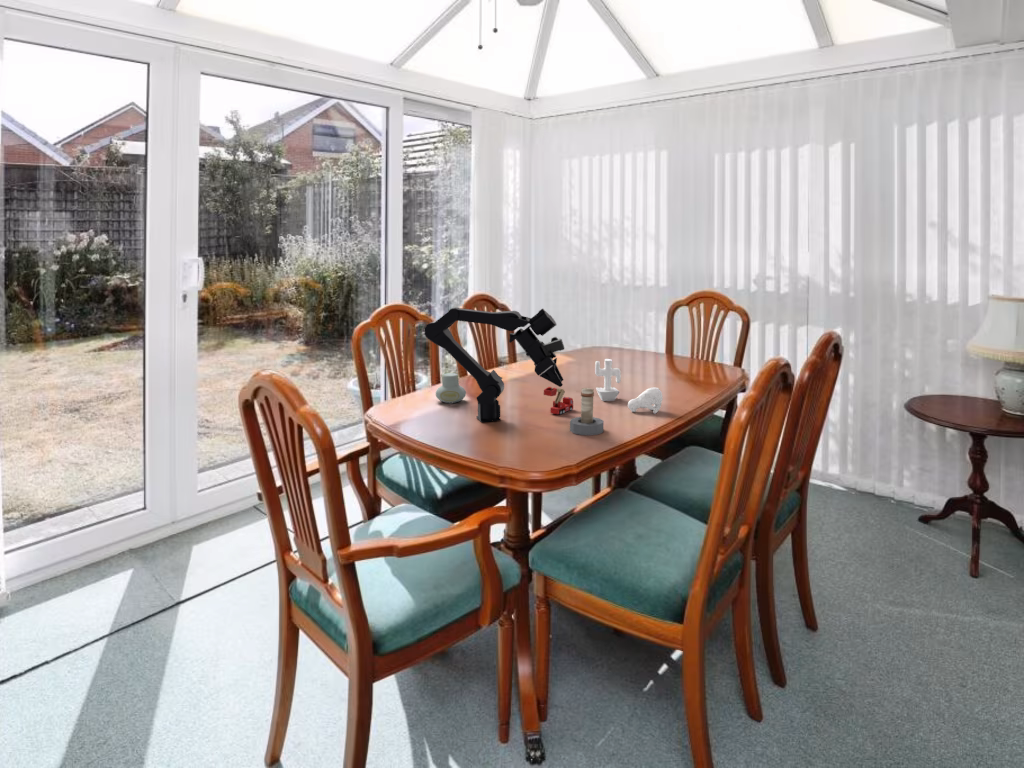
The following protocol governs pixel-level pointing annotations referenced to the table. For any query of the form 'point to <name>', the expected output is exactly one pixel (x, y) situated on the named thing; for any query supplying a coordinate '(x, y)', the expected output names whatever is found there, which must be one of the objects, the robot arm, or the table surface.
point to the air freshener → (450, 389)
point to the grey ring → (586, 426)
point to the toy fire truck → (557, 405)
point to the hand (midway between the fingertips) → (561, 383)
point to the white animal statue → (647, 400)
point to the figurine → (607, 380)
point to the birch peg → (587, 405)
